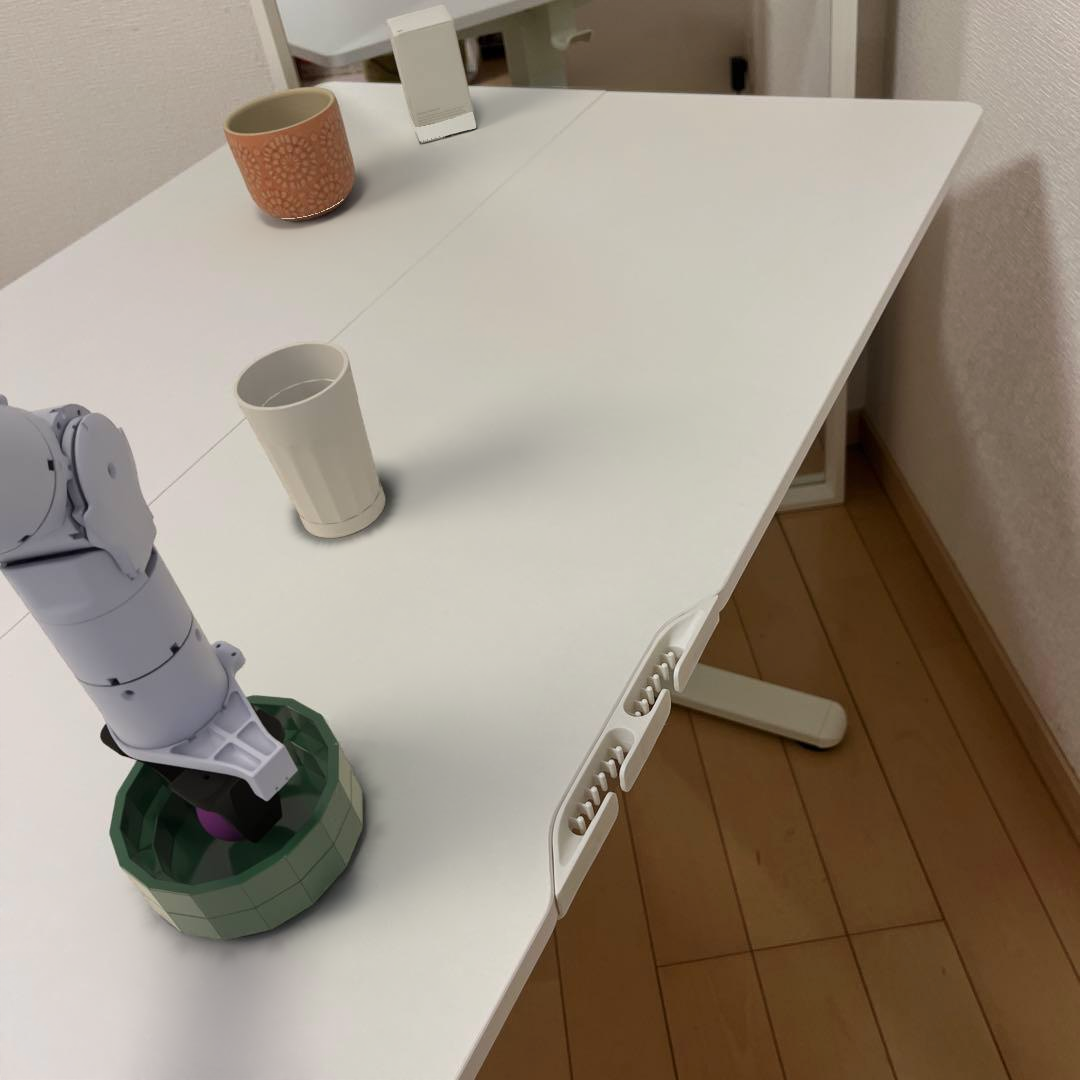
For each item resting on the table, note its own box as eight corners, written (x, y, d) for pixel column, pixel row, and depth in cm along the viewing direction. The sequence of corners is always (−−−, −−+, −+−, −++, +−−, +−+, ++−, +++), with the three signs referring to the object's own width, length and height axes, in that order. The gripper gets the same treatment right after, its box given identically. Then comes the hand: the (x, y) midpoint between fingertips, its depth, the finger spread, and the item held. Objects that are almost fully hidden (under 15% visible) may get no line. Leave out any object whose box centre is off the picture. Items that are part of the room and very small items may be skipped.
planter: (317, 238, 117) (282, 138, 110) (235, 227, 123) (197, 131, 116) (387, 185, 124) (359, 88, 117) (306, 177, 130) (275, 84, 123)
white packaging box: (478, 129, 131) (454, 19, 123) (418, 145, 131) (390, 35, 123) (469, 109, 137) (445, 1, 129) (411, 124, 137) (383, 17, 128)
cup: (405, 470, 84) (360, 335, 76) (384, 541, 78) (332, 403, 70) (306, 478, 85) (252, 346, 77) (278, 549, 79) (216, 414, 72)
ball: (245, 869, 58) (217, 826, 55) (198, 835, 60) (168, 792, 57) (299, 812, 60) (274, 768, 57) (251, 781, 62) (225, 738, 59)
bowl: (248, 988, 54) (210, 938, 51) (107, 874, 61) (65, 823, 58) (410, 805, 61) (385, 750, 57) (266, 720, 67) (236, 666, 64)
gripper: (300, 634, 48) (385, 811, 57) (109, 537, 56) (210, 706, 65) (177, 750, 44) (288, 920, 53) (-9, 628, 52) (115, 794, 61)
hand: (239, 809), depth 59 cm, fingers closed on ball, 4 cm apart
